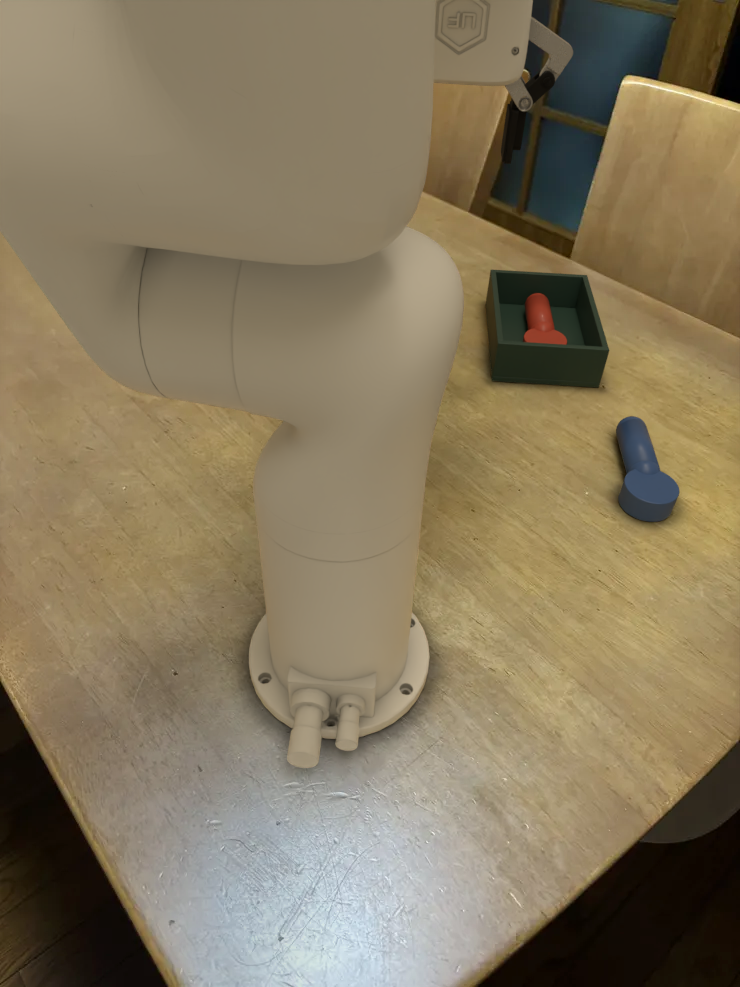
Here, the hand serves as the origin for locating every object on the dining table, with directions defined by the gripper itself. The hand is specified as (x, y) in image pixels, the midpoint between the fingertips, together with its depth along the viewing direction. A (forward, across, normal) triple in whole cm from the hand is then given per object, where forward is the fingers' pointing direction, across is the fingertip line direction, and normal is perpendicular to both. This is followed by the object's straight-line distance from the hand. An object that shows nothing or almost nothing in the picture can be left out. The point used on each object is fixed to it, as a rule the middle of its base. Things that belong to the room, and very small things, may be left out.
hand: (448, 154), depth 63 cm
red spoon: (+22, +12, +10) cm, 27 cm away
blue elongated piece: (+23, +20, -12) cm, 33 cm away
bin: (+23, +12, +10) cm, 28 cm away
